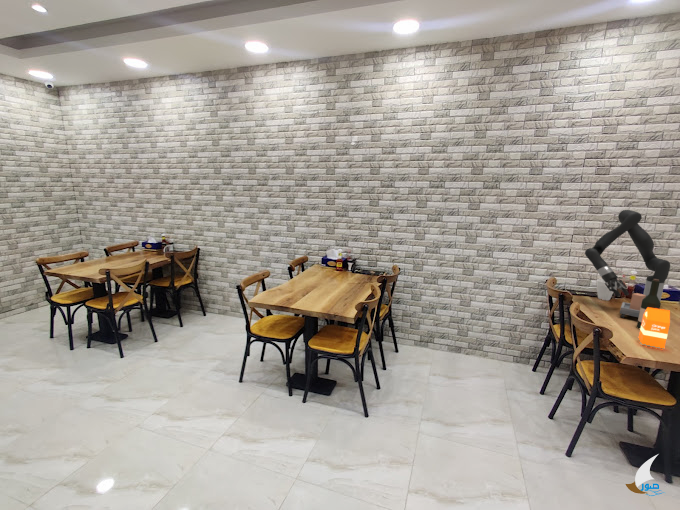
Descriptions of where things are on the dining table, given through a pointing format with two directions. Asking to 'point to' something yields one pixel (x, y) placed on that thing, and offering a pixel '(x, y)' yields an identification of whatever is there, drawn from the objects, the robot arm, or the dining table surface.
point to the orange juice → (655, 327)
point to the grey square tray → (628, 310)
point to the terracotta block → (636, 301)
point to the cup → (603, 290)
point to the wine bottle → (649, 301)
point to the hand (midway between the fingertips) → (623, 295)
